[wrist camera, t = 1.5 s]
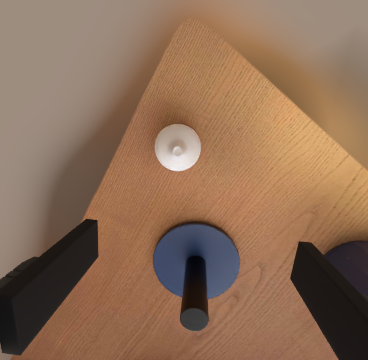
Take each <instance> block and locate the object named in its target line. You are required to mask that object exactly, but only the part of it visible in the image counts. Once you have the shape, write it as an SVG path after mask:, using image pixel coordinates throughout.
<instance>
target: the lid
mask: <svg viewBox="0 0 368 360" xmlns="http://www.w3.org/2000/svg"><path fill="white" fill-rule="evenodd" d="M153 264H154V270H155V273H156V275H157V277H158V279H159V280H160V282H161V283H162V284H163V286H164V287H165V288H167V289H168V290H169V291H170V292H172V293H174V294H175V295H177V296H180V297H182V304H181V314H180V321H181V324H182V325H183V326H184V327H185V328H186V329H188V330H191V331H199V330H202V329H204V328H205V327H206V326H207V324H208V321H209V318H208V299H210V298H214V297H216V296H219V295H220V294H222V293H224V292H225V291H226V290H228V289H229V288H230V287H231V285H232V284H233V283H234V281H235V280H236V278H237V275H238V272H239V266H240V261H239V255H238V251H237V249H236V246H235V245H234V243H233V242H232V240H231V239H230V238H229V237H228V236H227V235H226V234H225V233H224V232H222V231H221V230H219V229H217V228H215V227H213V226H211V225H207V224H202V223H188V224H183V225H180V226H177V227H175V228H173V229H171V230H170V231H168V232H167V233H166V234H165V235H164V236H163V237H162V238H161V239H160V241H159V242H158V244H157V246H156V249H155V252H154V258H153Z"/></svg>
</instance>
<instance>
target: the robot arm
mask: <svg viewBox="0 0 368 360" xmlns="http://www.w3.org/2000/svg"><path fill="white" fill-rule="evenodd" d="M97 258H98V223H97V220H91V219H86V220H84V221H83V222H82V223H81V224H79V225H78V226H77V227H76V228H75V229H73V230H72V231H71V232H69V233H68V234H67V235H66V236H65V237H63V238H62V239H61V240H60V241H58V242H57V243H56V244H55V245H53V246H52V247H51V248H50V249H48V250H47V251H46V252H45V253H43V254H42V255H41V256H40V257H33V258H31V259H29V260H26V261H25V262H22V263H21V264H20V265H18V266H17V267H16V268H15V269H13V271H11V272H9V273H8V274H7V275H6V276H5V277H3V278H2V279H0V344H1V349H2V353H7V354H14V355H21V354H22V353H23V352H24V350H25V349H26V348H27V347H28V345H29V344H30V343H31V341H32V340H33V339H34V338H35V336H36V335H37V334H38V333H39V331H40V330H41V329H42V327H43V326H44V325H45V324H46V322H47V321H48V320H49V319H50V317H51V316H52V315H53V313H54V312H55V311H56V310H57V308H58V307H59V306H60V305H61V303H62V302H63V301H64V299H65V298H66V297H67V296H68V294H69V293H70V292H71V291H72V289H73V288H74V287H75V286H76V284H77V283H78V282H79V280H80V279H81V278H82V277H83V275H84V274H85V273H86V272H87V270H88V269H89V268H90V266H91V265H92V264H93V263H94V261H95V260H96V259H97ZM290 279H291V281H292V282H293V284H294V286H295V287H296V289H297V291H298V292H299V294H300V296H301V297H302V299H303V301H304V302H305V304H306V306H307V307H308V309H309V311H310V312H311V314H312V316H313V317H314V319H315V321H316V322H317V324H318V326H319V327H320V329H321V331H322V333H323V334H324V336H325V338H326V339H327V341H328V343H329V344H330V346H331V348H332V349H333V351H334V353H335V354H336V356H337V358H338V359H339V360H368V296H367V295H364V294H360V293H359V292H358V291H357V290H356V288H355V287H354V286H353V285H352V284H351V283H350V282H349V281H348V280H347V279H346V278H345V277H344V276H343V275H342V274H341V273H340V272H339V271H338V270H337V269H336V268H335V267H334V266H333V265H332V264H331V263H330V262H329V261H328V259H327V258H326V257H325V256H324V255H323V254H322V253H321V252H320V251H319V250H318V249H317V248H316V247H315V246H314V245H313V244H312V243H309V242H300V241H299V243H298V248H297V252H296V256H295V260H294V265H293V269H292V273H291V277H290Z"/></svg>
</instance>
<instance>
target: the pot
mask: <svg viewBox="0 0 368 360" xmlns="http://www.w3.org/2000/svg"><path fill="white" fill-rule="evenodd" d="M324 256H325V257H326V258H327V259H328V261H329V262H330V263H331V264H332V265H333V266H334V267H335V268H336V269H337V270H338V271H339V272H340V273H341V274H342V275H343V276H344V277H345V278H346V279H347V280H348V281H349V282H350V283H351V284H352V285H353V286H354V287H355V288H356V290H357V291H358V292H359V293H360V294H364V295H367V296H368V241H353V242H348V243H345V244H342V245H340V246H337V247H335V248H334V249H332V250H330V251H329V252H328V253H327V254H325V255H324Z"/></svg>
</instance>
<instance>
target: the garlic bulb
mask: <svg viewBox="0 0 368 360" xmlns="http://www.w3.org/2000/svg"><path fill="white" fill-rule="evenodd" d="M200 152H201V142H200V139H199V136H198V135H197V133H196V132H195V131H194V130H193V129H192V128H190V127H189V126H186V125H183V124H172V125H169V126H167V127H165V128H164V129H163V130H161V131H160V133H159V134H158V136H157V138H156V141H155V153H156V156H157V158H158V160H159V162H160V163H161V164H162V165H163V166H164V167H166V168H168V169H170V170H173V171H183V170H186V169H188V168H190V167H191V166H193V165H194V164H195V163H196V161H197V160H198V158H199V156H200Z"/></svg>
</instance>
